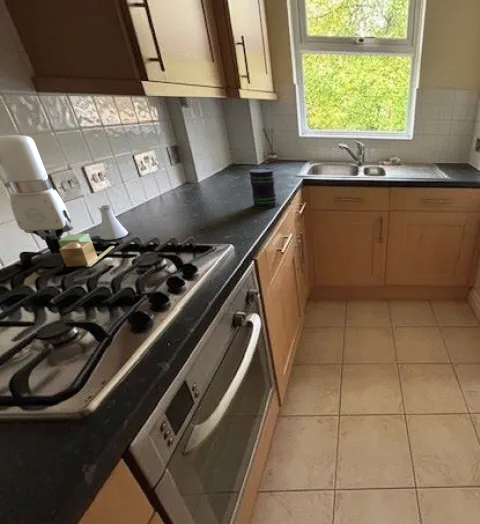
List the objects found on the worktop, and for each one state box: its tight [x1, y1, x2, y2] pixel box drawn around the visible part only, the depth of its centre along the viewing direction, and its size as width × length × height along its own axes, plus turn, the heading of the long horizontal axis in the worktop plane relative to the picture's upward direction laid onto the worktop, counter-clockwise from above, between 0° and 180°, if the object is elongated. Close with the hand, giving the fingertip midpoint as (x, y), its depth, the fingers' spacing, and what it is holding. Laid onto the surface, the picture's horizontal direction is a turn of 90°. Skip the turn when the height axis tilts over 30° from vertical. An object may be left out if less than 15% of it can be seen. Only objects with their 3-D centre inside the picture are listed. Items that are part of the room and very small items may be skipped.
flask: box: [97, 204, 129, 241], centre depth 105 cm, size 7×7×10 cm
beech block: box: [59, 240, 98, 268], centre depth 88 cm, size 5×5×5 cm
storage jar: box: [249, 161, 278, 209], centre depth 139 cm, size 10×10×18 cm
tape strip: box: [85, 245, 115, 268], centre depth 93 cm, size 1×14×1 cm, turn 13°
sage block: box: [58, 233, 92, 248], centre depth 94 cm, size 5×5×5 cm
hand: (58, 251), depth 93 cm, fingers closed
